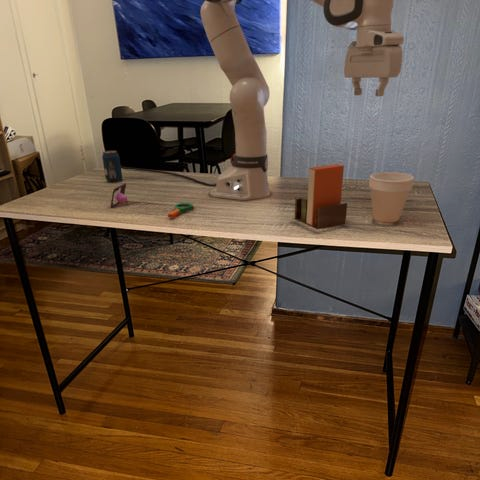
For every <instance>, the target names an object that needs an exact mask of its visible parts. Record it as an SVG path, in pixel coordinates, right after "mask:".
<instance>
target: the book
mask: <svg viewBox="0 0 480 480" xmlns="http://www.w3.org/2000/svg"><path fill="white" fill-rule="evenodd" d="M344 169H345V165H343V164H339V163H334V164H327V165H320V166H314V167H309V168H308V186H307V197H308V202H307V221H306V223H307V224H309V225H311V226H315V214H318V207H324V206H329V205H334V204H339V203H342V193H343V192H342V191H343V181H344V171H345V170H344ZM309 225H308V226H309ZM311 226H310V227H311Z"/></svg>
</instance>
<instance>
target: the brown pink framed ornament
mask: <svg viewBox="0 0 480 480" xmlns="http://www.w3.org/2000/svg"><path fill="white" fill-rule="evenodd" d="M126 187H127V183H123V184H121V185H119V186H117V187H115V188H113V189H112V190H111V192H112V194H111V201H110V208H114V207H115V206H117V205H119V204H126V203H127V204H128V205H130V202H129V201H128V198H127V196H126V195H125V193H126ZM119 190H120V191H119ZM118 191H119V192H118ZM116 192H117V193H116ZM115 193H116V194H115ZM114 199H115V200H116V201H117V202H116V203H114Z"/></svg>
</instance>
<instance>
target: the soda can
mask: <svg viewBox="0 0 480 480" xmlns="http://www.w3.org/2000/svg"><path fill="white" fill-rule="evenodd" d="M101 158H102V164H103V170H104V176H105V180H106V181H107V182H108V183H114V184H115V183H119V182H122V180H123V172H122V168H121V166H122V165H121V160H120V155H119V153H118V151H117V150H105V151H103V152H102V157H101Z"/></svg>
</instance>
